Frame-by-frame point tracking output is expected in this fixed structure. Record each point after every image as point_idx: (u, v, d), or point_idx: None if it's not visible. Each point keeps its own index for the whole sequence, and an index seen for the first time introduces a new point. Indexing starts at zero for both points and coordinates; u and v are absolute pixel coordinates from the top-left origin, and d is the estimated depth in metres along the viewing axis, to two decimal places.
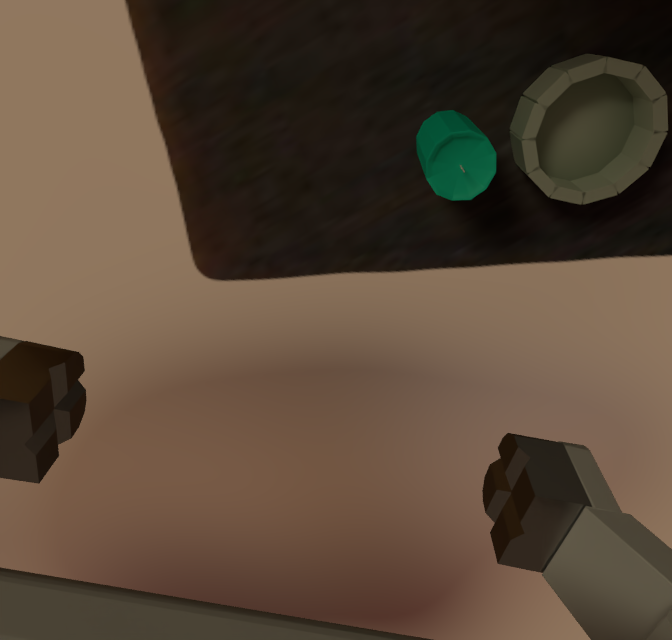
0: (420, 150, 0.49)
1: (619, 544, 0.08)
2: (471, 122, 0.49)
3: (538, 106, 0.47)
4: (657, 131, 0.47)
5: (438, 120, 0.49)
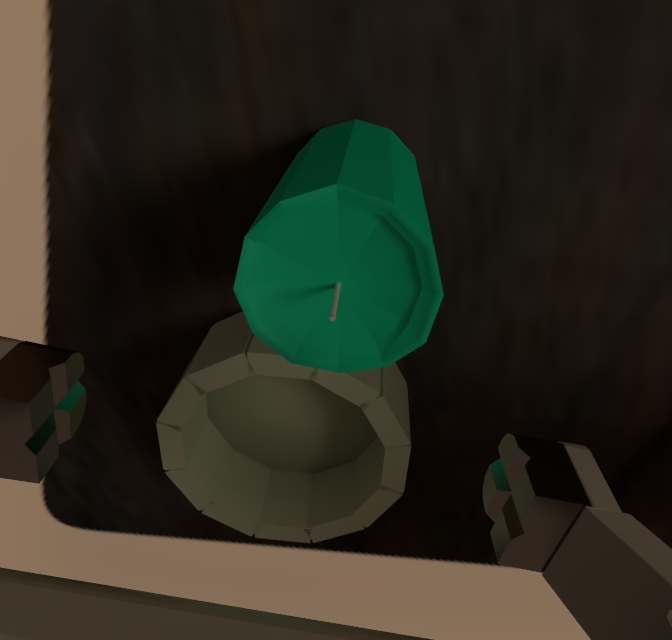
0: (383, 152, 0.18)
1: (619, 544, 0.08)
2: None
3: (370, 397, 0.24)
4: (257, 527, 0.29)
5: None
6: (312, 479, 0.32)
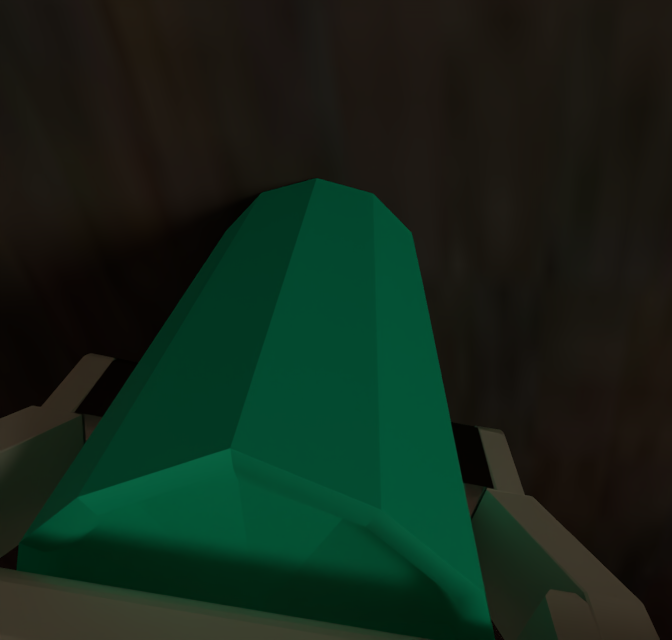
0: (359, 265, 0.10)
1: (515, 525, 0.08)
2: None
3: None
4: None
5: None
6: None
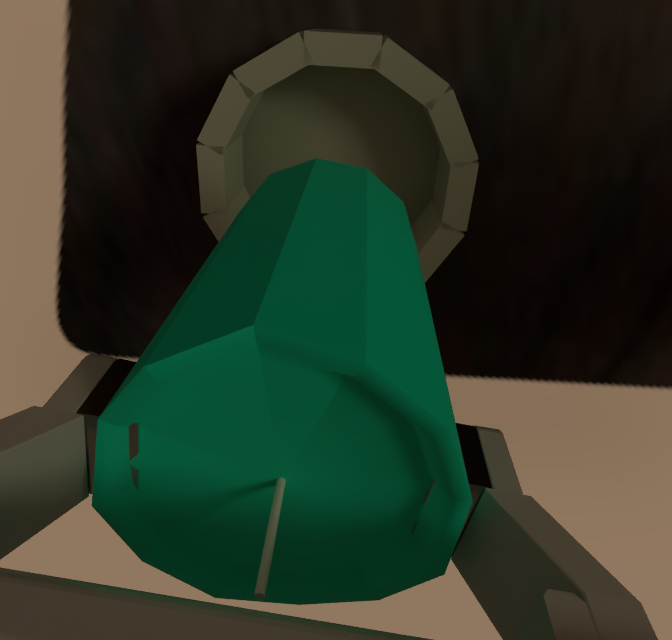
0: (353, 218, 0.12)
1: (513, 525, 0.08)
2: None
3: (439, 91, 0.22)
4: None
5: (425, 289, 0.14)
6: None
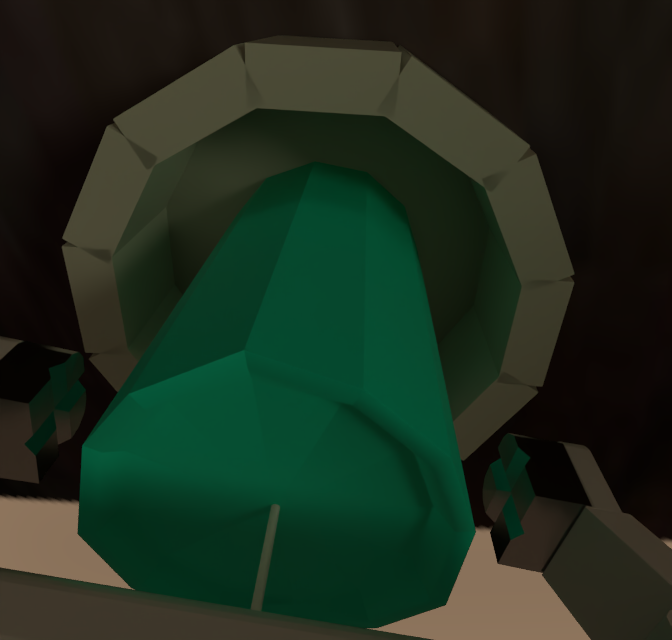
0: (352, 227, 0.11)
1: (619, 544, 0.08)
2: None
3: (509, 157, 0.11)
4: None
5: (426, 298, 0.13)
6: None
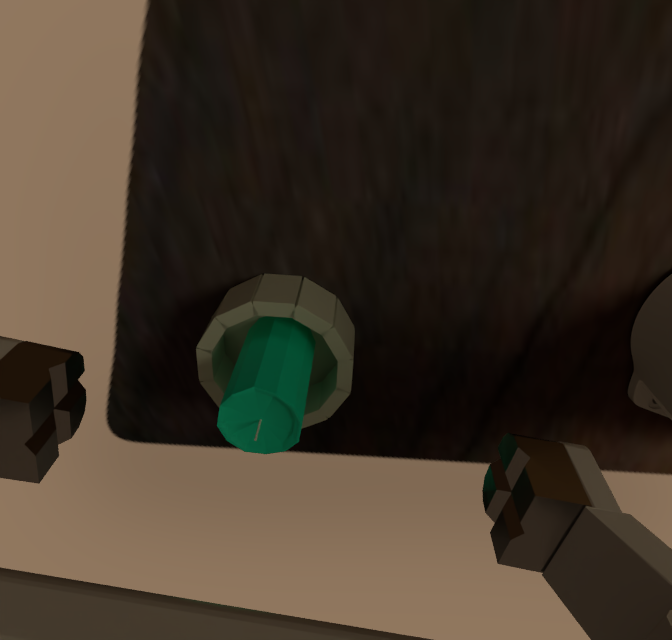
0: (283, 347, 0.40)
1: (619, 544, 0.08)
2: None
3: (327, 328, 0.40)
4: None
5: (310, 364, 0.42)
6: None
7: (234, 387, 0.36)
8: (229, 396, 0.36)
